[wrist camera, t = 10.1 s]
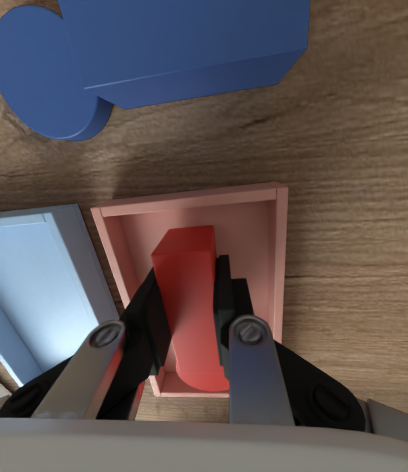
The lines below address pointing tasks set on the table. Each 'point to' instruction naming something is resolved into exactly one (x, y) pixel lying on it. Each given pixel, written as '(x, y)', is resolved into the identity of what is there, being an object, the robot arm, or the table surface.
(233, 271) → the rose tray
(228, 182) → the table surface
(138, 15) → the blue spoon
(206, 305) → the red spoon
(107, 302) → the blue tray
